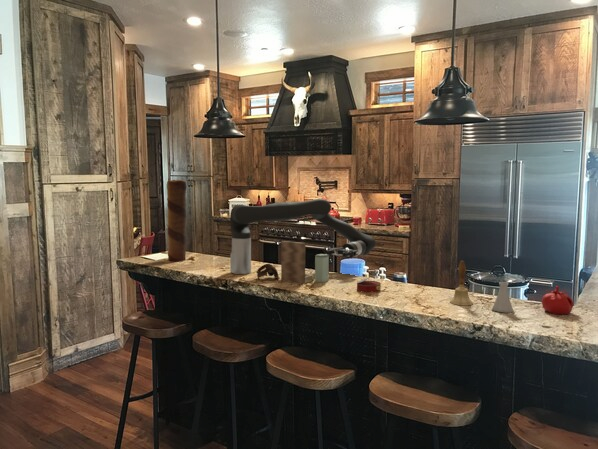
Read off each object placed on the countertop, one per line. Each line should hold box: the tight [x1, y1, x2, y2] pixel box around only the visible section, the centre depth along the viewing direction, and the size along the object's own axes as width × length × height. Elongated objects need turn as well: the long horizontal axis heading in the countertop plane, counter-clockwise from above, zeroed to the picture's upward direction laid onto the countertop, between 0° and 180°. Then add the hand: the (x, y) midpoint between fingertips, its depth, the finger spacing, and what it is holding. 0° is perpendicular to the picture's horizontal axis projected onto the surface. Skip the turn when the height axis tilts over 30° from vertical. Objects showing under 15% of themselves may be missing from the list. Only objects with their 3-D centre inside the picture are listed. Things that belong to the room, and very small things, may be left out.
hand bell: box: [449, 260, 474, 307], centre depth 180 cm, size 8×8×16 cm
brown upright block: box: [280, 240, 314, 285], centre depth 217 cm, size 12×9×18 cm
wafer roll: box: [166, 179, 187, 262], centre depth 269 cm, size 10×11×45 cm
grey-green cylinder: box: [314, 253, 330, 283], centre depth 217 cm, size 4×5×12 cm
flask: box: [491, 281, 514, 314], centre depth 170 cm, size 7×7×10 cm
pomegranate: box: [541, 285, 574, 315], centre depth 168 cm, size 10×10×9 cm
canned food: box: [356, 271, 382, 294], centre depth 201 cm, size 11×10×10 cm
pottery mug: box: [256, 263, 280, 281], centre depth 222 cm, size 12×10×8 cm
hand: (335, 254), depth 226 cm, fingers open, 8 cm apart
